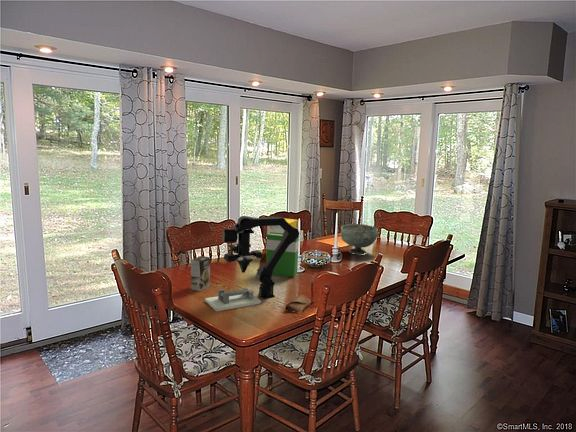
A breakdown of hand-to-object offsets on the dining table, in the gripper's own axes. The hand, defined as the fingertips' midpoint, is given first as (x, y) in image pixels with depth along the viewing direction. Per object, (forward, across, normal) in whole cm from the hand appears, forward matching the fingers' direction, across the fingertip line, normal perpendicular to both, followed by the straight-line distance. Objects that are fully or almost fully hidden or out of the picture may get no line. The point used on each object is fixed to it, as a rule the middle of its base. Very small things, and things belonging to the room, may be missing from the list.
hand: (243, 272), depth 210 cm
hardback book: (+13, -38, -26) cm, 48 cm away
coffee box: (+13, +14, -22) cm, 29 cm away
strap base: (+13, +7, +4) cm, 15 cm away
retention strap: (+9, +6, +4) cm, 11 cm away
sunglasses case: (+14, -20, +22) cm, 33 cm away
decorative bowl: (+13, -114, -45) cm, 123 cm away
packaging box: (+13, -59, -61) cm, 86 cm away
